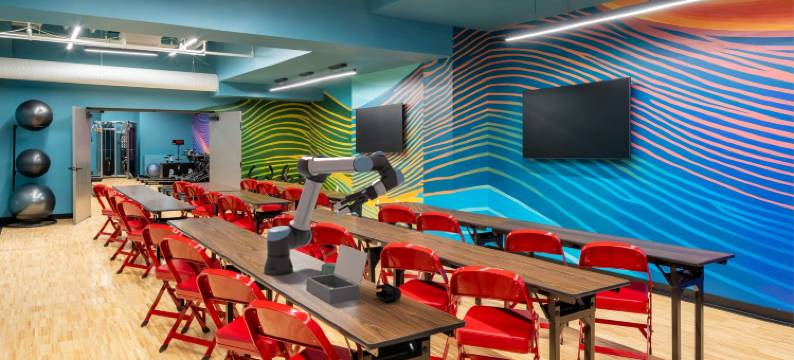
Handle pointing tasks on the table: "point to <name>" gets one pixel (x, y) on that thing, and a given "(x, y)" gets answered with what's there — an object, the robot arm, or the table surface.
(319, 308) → the table surface
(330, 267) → the box
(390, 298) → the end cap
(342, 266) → the cover
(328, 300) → the grey tray
